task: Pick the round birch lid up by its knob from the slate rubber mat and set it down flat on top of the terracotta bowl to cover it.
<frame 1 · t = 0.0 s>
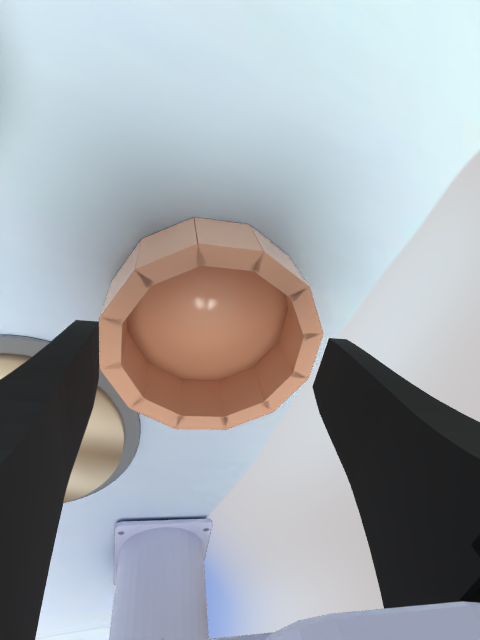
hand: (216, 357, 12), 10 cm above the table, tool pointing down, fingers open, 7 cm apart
bowl: (208, 311, 23), on the table
lid: (21, 435, 25), resting on mat
mat: (23, 430, 25), on the table
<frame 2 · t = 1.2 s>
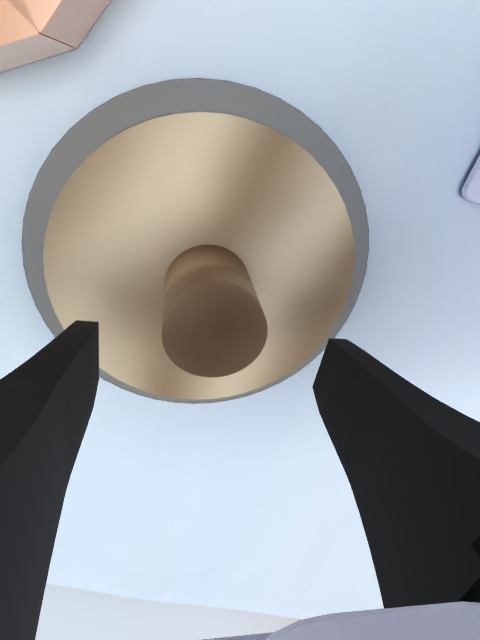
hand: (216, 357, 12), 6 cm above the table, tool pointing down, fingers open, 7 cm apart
lid: (206, 277, 17), resting on mat
mat: (205, 273, 17), on the table
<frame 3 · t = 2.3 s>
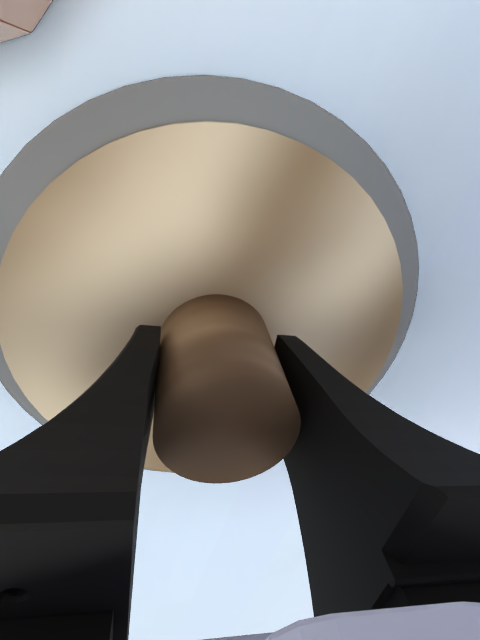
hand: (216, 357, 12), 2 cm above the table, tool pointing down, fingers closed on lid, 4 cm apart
lid: (212, 330, 13), resting on mat, touching gripper
mat: (211, 324, 14), on the table
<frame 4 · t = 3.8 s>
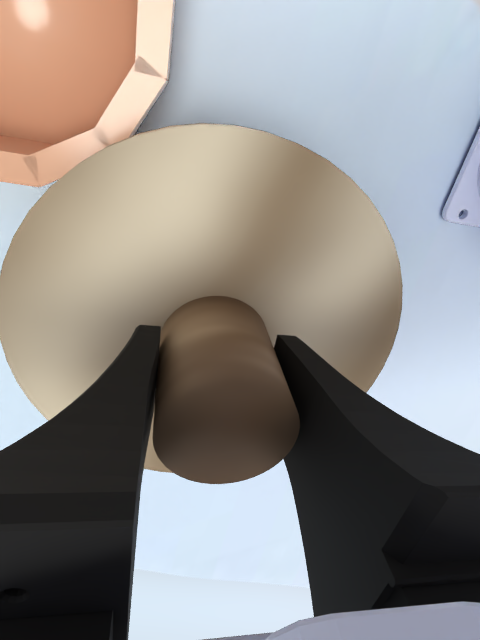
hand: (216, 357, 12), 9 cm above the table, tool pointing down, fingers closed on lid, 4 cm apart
bowl: (18, 0, 14), on the table
lid: (212, 331, 13), point 7 cm above the table, touching gripper
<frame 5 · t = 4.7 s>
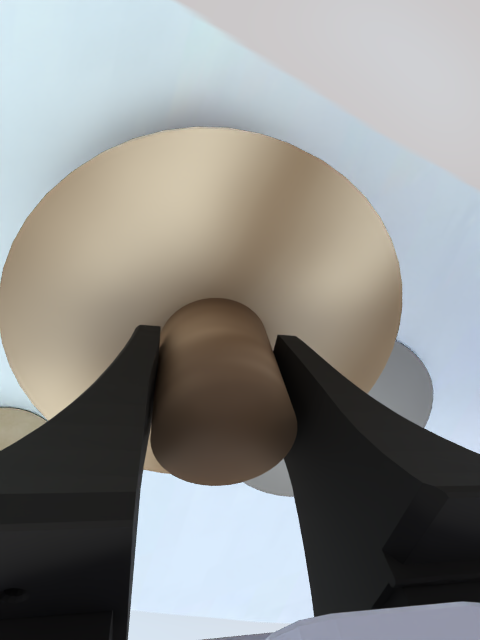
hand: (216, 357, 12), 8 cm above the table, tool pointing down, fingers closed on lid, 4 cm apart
candle: (13, 437, 23), on the table
lid: (212, 333, 13), point 7 cm above the table, touching gripper
mat: (325, 422, 27), on the table
when the fingers open (7 cm above the table, at t = 5.4 s): lid stays where it is, resting on bowl.
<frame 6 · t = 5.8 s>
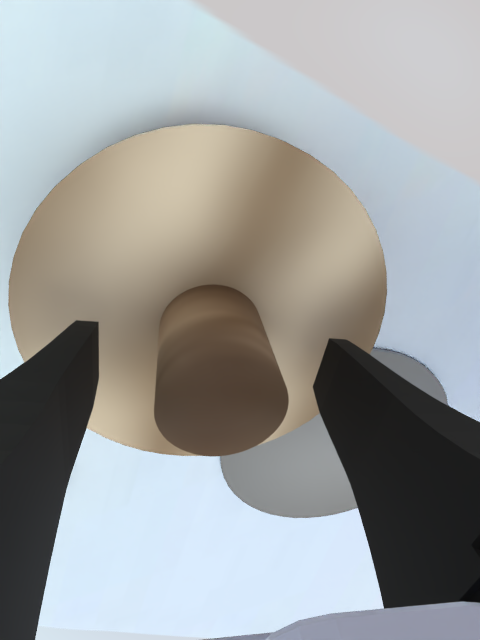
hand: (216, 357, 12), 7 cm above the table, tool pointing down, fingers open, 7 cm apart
lid: (209, 319, 14), point 4 cm above the table, touching bowl
mat: (334, 442, 25), on the table
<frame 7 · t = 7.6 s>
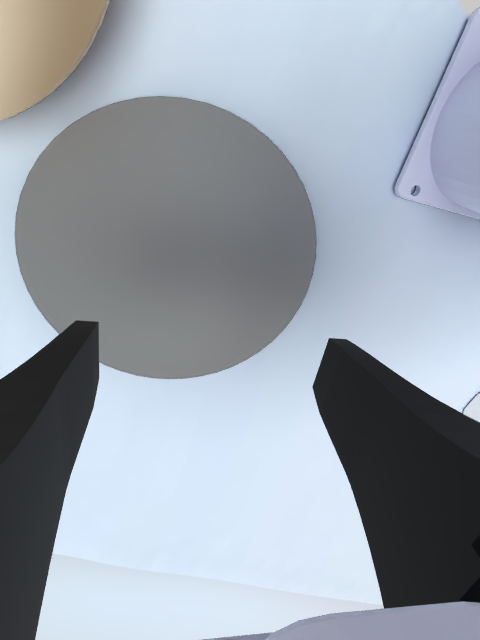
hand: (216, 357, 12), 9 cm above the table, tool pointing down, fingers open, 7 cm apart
mat: (175, 261, 20), on the table
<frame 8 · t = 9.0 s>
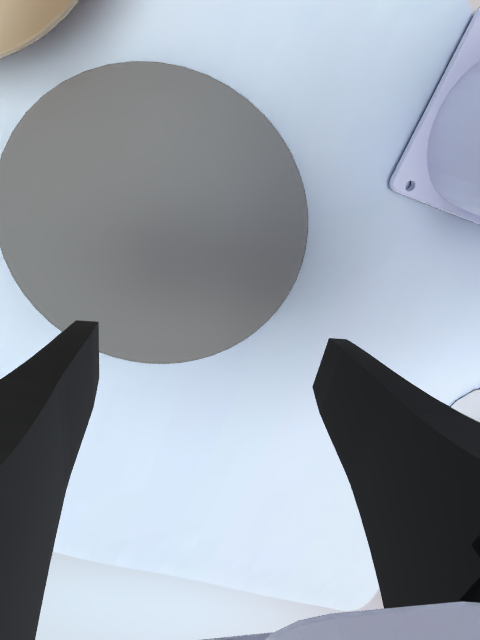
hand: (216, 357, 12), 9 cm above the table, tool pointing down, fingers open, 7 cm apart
mat: (162, 240, 19), on the table
white cup: (475, 415, 31), on the table
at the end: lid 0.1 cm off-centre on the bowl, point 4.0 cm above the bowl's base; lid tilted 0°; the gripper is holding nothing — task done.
